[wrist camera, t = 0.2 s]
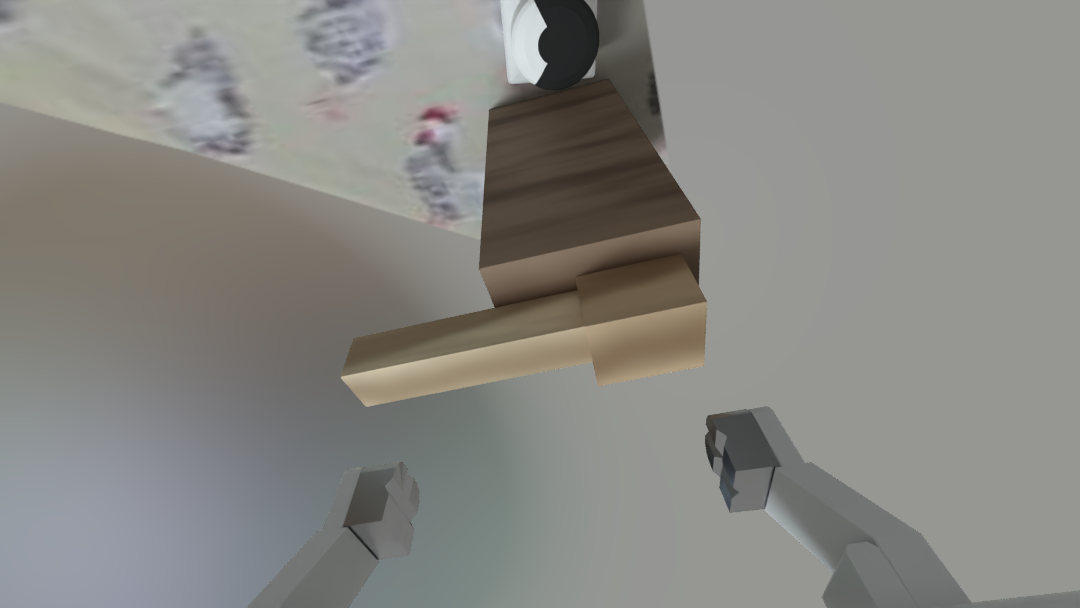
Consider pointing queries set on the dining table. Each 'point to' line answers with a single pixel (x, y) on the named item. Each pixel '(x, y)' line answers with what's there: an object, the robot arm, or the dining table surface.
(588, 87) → the stand
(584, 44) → the medicine bottle
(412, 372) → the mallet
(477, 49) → the dining table surface
